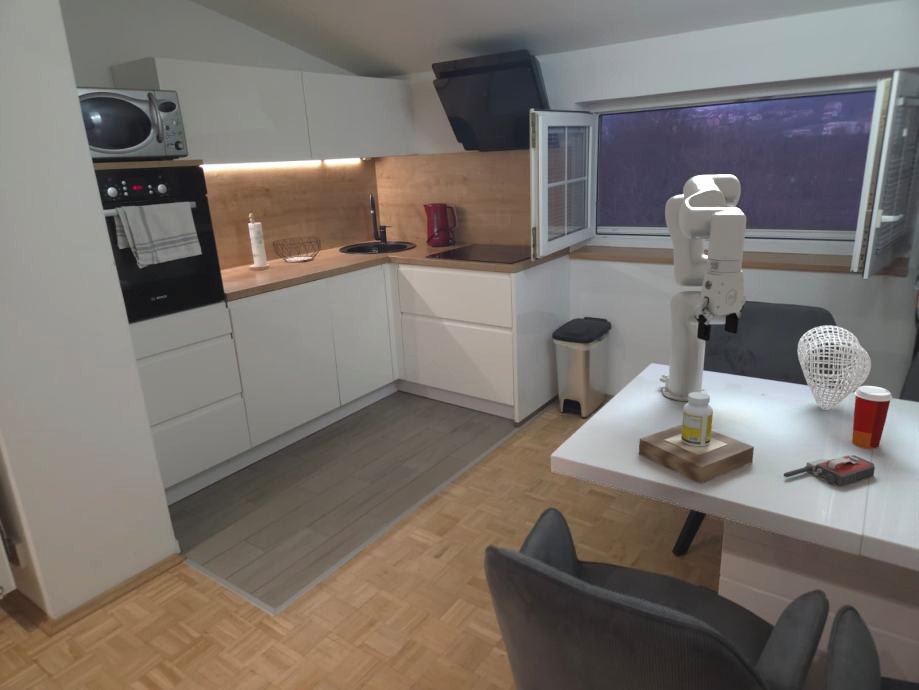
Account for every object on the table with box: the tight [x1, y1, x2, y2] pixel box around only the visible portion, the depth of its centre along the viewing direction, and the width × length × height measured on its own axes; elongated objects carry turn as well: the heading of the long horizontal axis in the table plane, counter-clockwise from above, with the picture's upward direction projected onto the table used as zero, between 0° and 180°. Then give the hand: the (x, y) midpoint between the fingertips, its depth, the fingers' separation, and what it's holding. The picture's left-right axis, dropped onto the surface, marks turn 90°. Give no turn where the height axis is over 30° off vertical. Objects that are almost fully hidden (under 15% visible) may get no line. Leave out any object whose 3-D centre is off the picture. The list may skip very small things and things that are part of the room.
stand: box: [638, 424, 755, 484], centre depth 150 cm, size 18×18×4 cm
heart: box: [797, 324, 872, 411], centre depth 173 cm, size 28×16×22 cm, turn 158°
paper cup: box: [851, 385, 893, 450], centre depth 153 cm, size 8×8×14 cm
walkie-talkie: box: [783, 454, 876, 488], centre depth 139 cm, size 9×4×20 cm
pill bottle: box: [681, 392, 714, 446], centre depth 147 cm, size 6×6×12 cm
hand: (717, 335), depth 152 cm, fingers open, 9 cm apart
